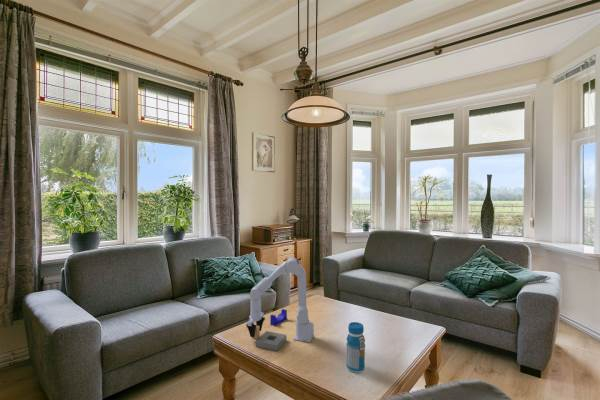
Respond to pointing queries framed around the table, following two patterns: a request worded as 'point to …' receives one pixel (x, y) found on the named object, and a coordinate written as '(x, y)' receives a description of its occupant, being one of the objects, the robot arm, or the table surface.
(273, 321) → the cable clip
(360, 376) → the table surface
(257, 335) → the plug peg
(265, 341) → the socket block
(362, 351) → the beverage bottle
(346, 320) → the table surface
